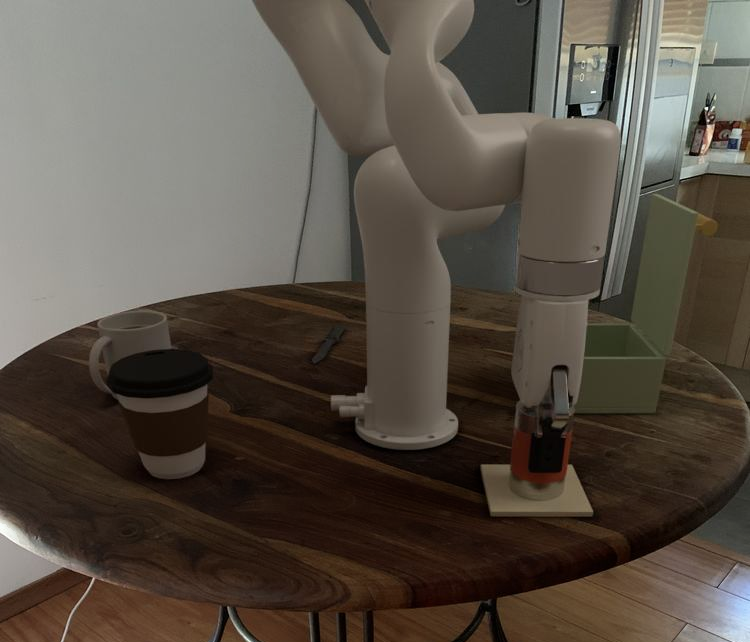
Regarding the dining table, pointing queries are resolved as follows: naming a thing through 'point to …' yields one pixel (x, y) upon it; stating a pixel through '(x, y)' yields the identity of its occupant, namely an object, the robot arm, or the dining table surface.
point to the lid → (665, 268)
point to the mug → (127, 339)
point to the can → (520, 477)
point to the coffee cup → (165, 408)
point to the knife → (329, 343)
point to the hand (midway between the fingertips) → (538, 453)
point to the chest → (619, 371)
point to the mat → (514, 505)
